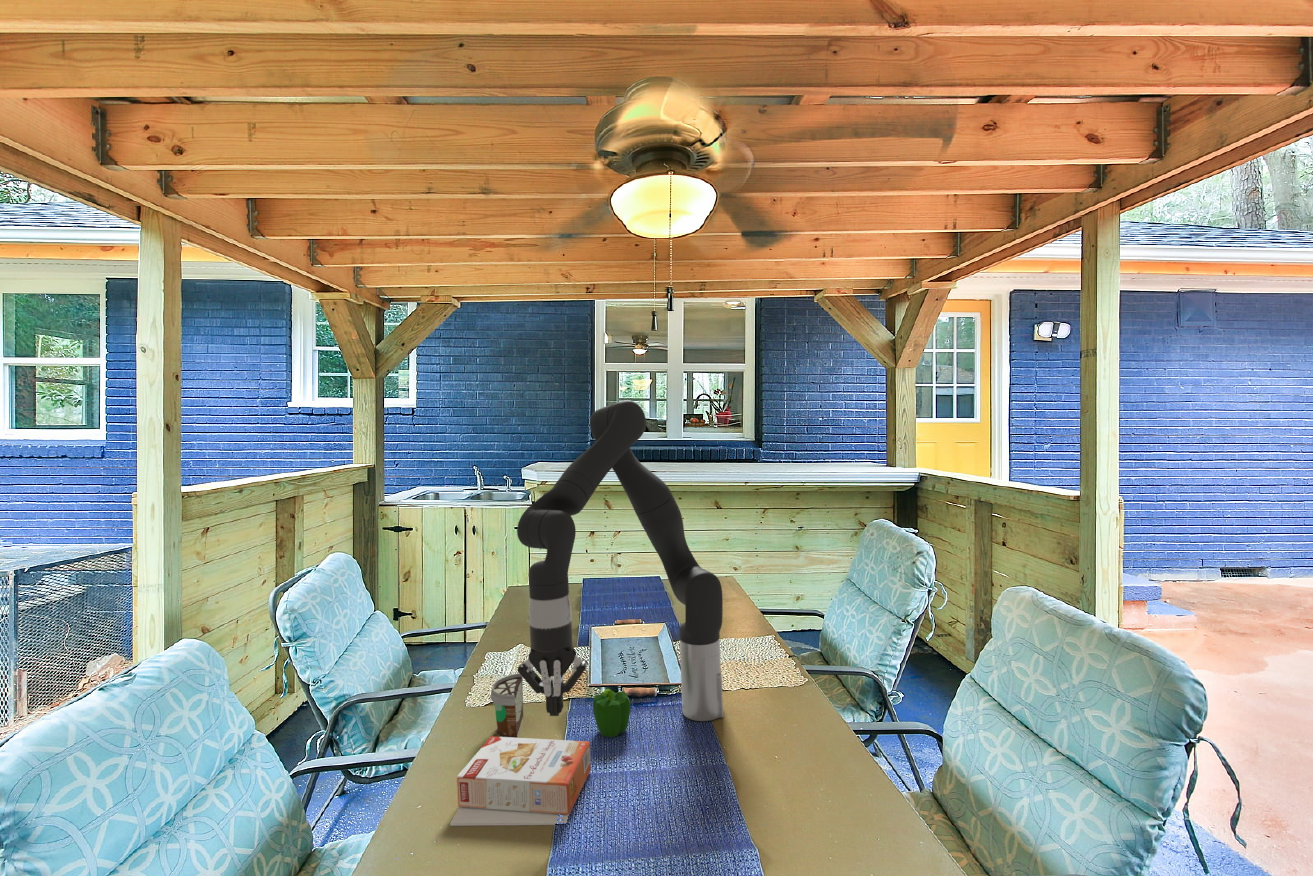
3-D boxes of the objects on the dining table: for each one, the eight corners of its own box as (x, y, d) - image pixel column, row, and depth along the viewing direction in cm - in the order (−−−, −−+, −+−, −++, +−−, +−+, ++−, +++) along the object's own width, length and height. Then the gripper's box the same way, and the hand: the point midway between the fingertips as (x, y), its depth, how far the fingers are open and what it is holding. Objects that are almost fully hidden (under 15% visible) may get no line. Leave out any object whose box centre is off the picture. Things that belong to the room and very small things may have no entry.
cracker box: (568, 781, 101) (454, 776, 105) (570, 816, 101) (456, 810, 105) (590, 738, 115) (489, 734, 118) (592, 768, 115) (490, 764, 119)
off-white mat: (584, 763, 118) (584, 761, 118) (566, 824, 100) (566, 822, 100) (485, 764, 119) (485, 762, 119) (450, 825, 101) (450, 823, 101)
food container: (497, 716, 139) (495, 674, 139) (524, 714, 139) (522, 672, 139) (487, 744, 127) (484, 698, 126) (516, 742, 127) (514, 696, 127)
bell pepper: (614, 718, 136) (612, 675, 135) (638, 730, 130) (636, 685, 130) (585, 732, 130) (583, 687, 130) (609, 746, 124) (607, 699, 124)
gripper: (590, 612, 111) (594, 703, 111) (520, 613, 111) (524, 705, 112) (583, 625, 103) (587, 724, 104) (508, 627, 104) (513, 725, 104)
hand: (555, 714), depth 108 cm, fingers closed
